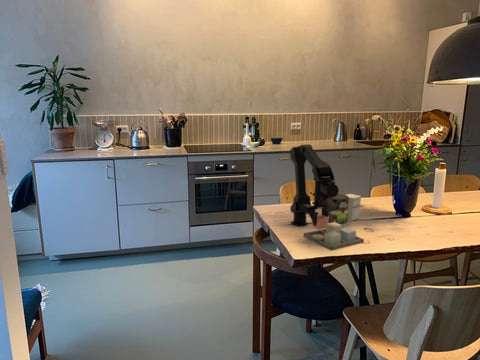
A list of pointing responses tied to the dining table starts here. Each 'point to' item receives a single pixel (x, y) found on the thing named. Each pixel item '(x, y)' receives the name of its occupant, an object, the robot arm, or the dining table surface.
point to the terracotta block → (321, 222)
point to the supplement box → (353, 207)
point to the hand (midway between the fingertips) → (319, 224)
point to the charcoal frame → (335, 236)
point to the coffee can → (339, 210)
